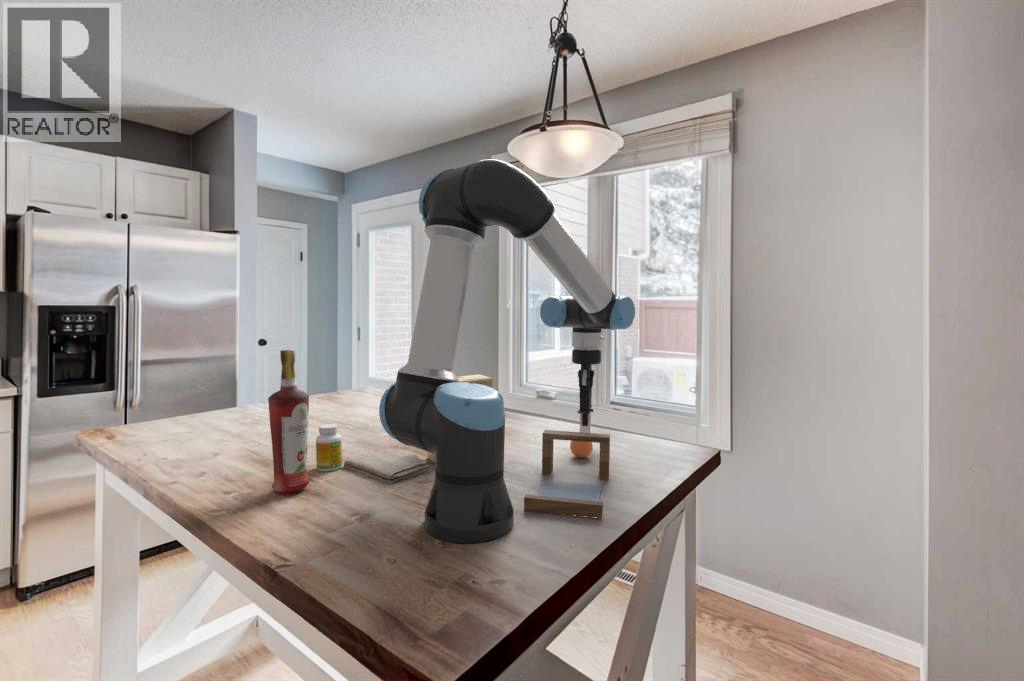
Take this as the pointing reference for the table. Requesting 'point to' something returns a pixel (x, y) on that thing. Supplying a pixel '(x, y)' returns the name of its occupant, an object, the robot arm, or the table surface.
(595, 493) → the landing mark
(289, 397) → the liquor
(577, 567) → the table surface
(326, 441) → the supplement bottle
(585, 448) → the ball
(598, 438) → the bridge
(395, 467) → the washcloth
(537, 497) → the stop rail
